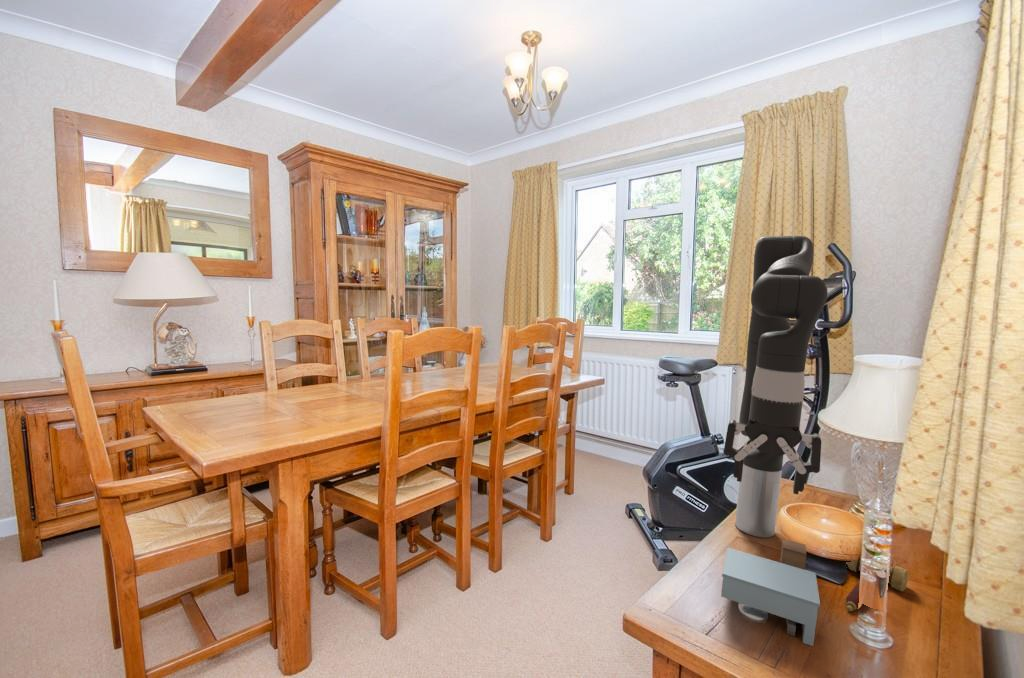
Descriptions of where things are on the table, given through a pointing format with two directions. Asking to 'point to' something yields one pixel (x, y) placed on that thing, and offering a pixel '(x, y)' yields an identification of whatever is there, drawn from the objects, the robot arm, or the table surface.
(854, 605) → the gavel
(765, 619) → the silver metal disc
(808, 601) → the plinth shelf
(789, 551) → the wood grain block
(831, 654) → the table surface
